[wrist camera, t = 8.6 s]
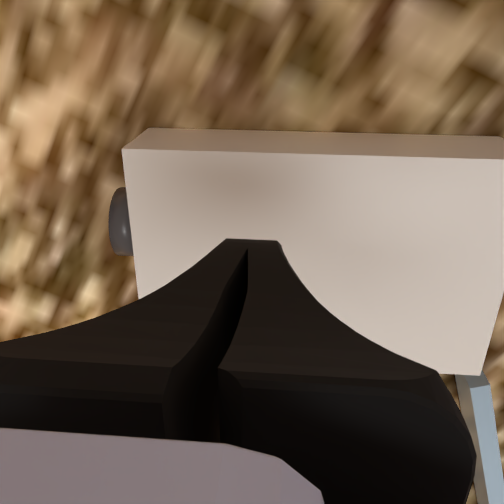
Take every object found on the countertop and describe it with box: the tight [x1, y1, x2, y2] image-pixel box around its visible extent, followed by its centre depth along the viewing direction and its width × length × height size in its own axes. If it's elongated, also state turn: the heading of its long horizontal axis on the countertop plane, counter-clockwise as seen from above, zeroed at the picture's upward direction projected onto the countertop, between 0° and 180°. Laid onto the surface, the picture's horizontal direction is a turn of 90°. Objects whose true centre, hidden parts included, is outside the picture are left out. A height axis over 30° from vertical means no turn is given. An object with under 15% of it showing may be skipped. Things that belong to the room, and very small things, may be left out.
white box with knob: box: [109, 128, 504, 376], centre depth 20 cm, size 15×9×4 cm, turn 90°
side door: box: [455, 371, 504, 504], centre depth 24 cm, size 13×2×3 cm, turn 18°
